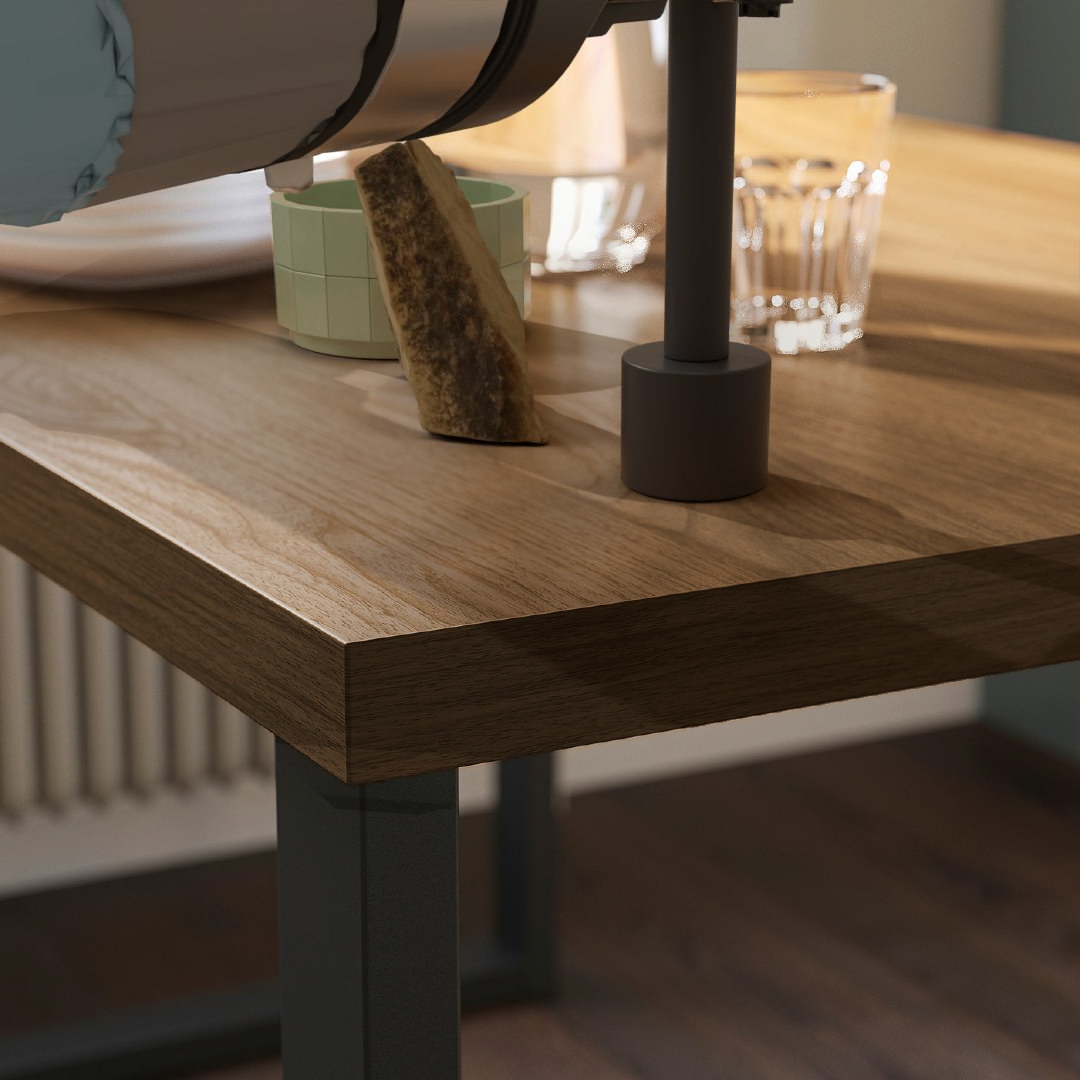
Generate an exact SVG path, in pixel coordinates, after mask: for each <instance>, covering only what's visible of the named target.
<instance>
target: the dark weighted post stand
mask: <svg viewBox="0 0 1080 1080" xmlns="http://www.w3.org/2000/svg"><path fill="white" fill-rule="evenodd" d="M738 13H739V3H737V2H714V1H713V0H668V29H667V30H668V31H667V32H668V33H667V35H668V36H667V38H668V39H667V97H666V98H667V101H666V104H667V105H666V113H667V114H666V161H665V163H666V165H665V168H666V170H665V173H666V174H665V175H666V176H665V232H664V234H665V237H664V239H665V243H664V297H663V298H664V303H663V304H664V306H663V310H664V311H663V340H658V341H652V342H646V343H642V344H638V345H635V346H633V347H630V348H628V349H626V350H624V352H623V353H622V355H621V358H620V366H621V367H620V480H621V482H622V483H623V485H625V487H626V488H628V489H630V490H632V491H634V492H636V493H639V494H642V495H645V496H650V497H653V498H657V499H658V498H659V499H664V500H671V501H680V502H681V501H682V502H712V501H723V500H730V499H731V500H732V499H736V498H740V497H745V496H747V495H748V496H749V495H751V494H754V493H756V492H758V491H760V490H761V489H762V488H763V487H765V485H766V484H767V481H768V473H769V445H770V444H769V443H770V414H771V390H772V389H771V388H772V387H771V386H772V385H771V384H772V360H773V359H772V356H771V354H770V353H769V352H768V351H766V350H764V349H762V348H760V347H757V346H754V345H751V344H747V343H741V342H736V341H731V340H730V335H731V334H730V332H731V331H730V329H731V294H732V260H733V259H732V258H733V256H732V255H733V225H734V224H733V223H734V222H733V221H734V219H733V218H734V189H735V188H734V184H735V183H734V182H735V151H736V150H735V147H736V146H735V145H736V111H737V76H738V75H737V74H738V72H737V71H738V40H739V39H738V37H739V17H738Z"/></svg>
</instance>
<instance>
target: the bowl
mask: <svg viewBox="0 0 1080 1080" xmlns="http://www.w3.org/2000/svg"><path fill="white" fill-rule="evenodd" d="M455 177H456V180H457V185H458V187H459V188H460V189H461V190H462V191H463V193H464V195H465V197H466V199H467V200H468V202H469V203H470V206H471V208H472V210H473V213H474V216H475V220H476V225H477V228H478V230H479V232H480V235H481V237H482V239H483V241H484V242H485V244H486V246H487V248H488V249H489V251H490V252H491V254H492V255H493V256H494V257H495V258H496V260H497V262H498V265H499V268H500V272H501V274H502V275H503V277H504V279H505V281H506V283H507V287H508V289H509V291H510V292H511V294H512V295H513V297H514V299H515V301H516V303H517V306H518V309H519V313H520V315H521V317H522V320H523V323H524V322H525V321H526V320H527V318H528V317H529V316H530V315H531V313H532V254H531V250H532V241H531V240H532V237H531V234H532V233H531V223H532V222H531V191H530V190H529V189H528V188H526V187H525V186H524V185H522V184H518V183H514V182H510V181H506V180H501V179H492V178H483V177H474V176H461V175H460V176H459V175H455ZM268 201H269V203H268V204H269V218H270V234H271V235H270V237H271V250H272V251H271V252H272V269H273V270H272V271H273V284H274V285H273V286H274V287H273V288H274V305H275V316H276V321H277V325H279V326H280V327H283V328H285V329H287V330H288V334H289V339H290V340H291V342H292V343H293V344H294V345H296V346H298V347H300V348H303V349H305V350H308V351H311V352H315V353H319V354H324V355H330V356H337V357H344V358H354V359H367V360H369V359H371V360H399V358H398V355H397V351H396V347H395V343H396V341H395V337H394V335H393V334H392V332H391V330H390V327H389V323H388V319H387V316H386V311H385V305H384V302H383V295H382V291H381V287H380V283H379V279H378V275H377V271H376V268H375V261H374V257H373V255H372V253H371V249H370V243H369V239H368V235H367V229H366V225H365V220H364V217H363V213H362V204H361V201H360V198H359V195H358V191H357V185H356V180H355V177H354V176H353V177H346V178H345V177H342V178H334V179H324V180H317V181H314V183H313V184H312V185H311V186H310V187H309V188H308V189H306V190H304V191H302V192H299V193H297V194H294V193H284V192H274V191H273V192H272V193H269V194H268Z"/></svg>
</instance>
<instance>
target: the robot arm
mask: <svg viewBox="0 0 1080 1080" xmlns="http://www.w3.org/2000/svg"><path fill="white" fill-rule="evenodd" d="M713 1H714V2H737V3H739V6H738V18H764V19H765V18H766V19H767V18H775V19H779V18H781V6H782V5H787V4H788V5H789V4H794V0H713ZM668 2H669V0H0V225H5V226H13V227H19V228H32V227H38V226H41V225H47V224H52V223H57V222H61V219H62V217H63V216H64V214H70V213H73V212H75V211H79V210H84V209H88V208H92V207H96V206H100V205H104V204H108V203H112V202H115V201H119V200H123V199H127V198H132V197H136V196H141V195H145V194H149V193H153V192H158V191H162V190H167V189H172V188H175V187H179V186H184V185H189V184H193V183H197V182H201V181H206V180H210V179H214V178H219V177H223V176H227V175H228V176H229V175H240V174H245V173H249V172H253V171H259V170H263V172H264V177H265V183H266V186H267V187H268V188H269V189H270V190H272V191H273V192H284V193H294V194H297V193H299V192H302V191H304V190H306V189H308V188H309V187H310V186H311V185H312V184H313V183H314V182H315V181H314V157H316V156H319V155H323V154H330V153H338V152H348V151H354V150H358V149H362V148H363V149H364V148H368V147H372V146H377V145H382V144H388V143H394V142H395V143H403V142H406V141H409V140H415V139H420V140H422V139H426V138H432V137H436V136H441V135H445V134H450V133H455V132H459V131H465V130H469V129H474V128H478V127H484V126H487V125H488V126H489V125H491V124H494V123H497V122H501V121H503V120H505V119H507V118H510V117H512V116H514V115H516V114H518V113H520V112H521V111H523V110H525V109H526V108H527V107H529V106H531V105H532V104H533V103H535V102H536V101H538V99H540V98H541V97H542V96H544V95H545V94H546V93H547V92H548V91H549V90H550V89H551V88H553V86H554V85H555V84H556V83H557V82H558V81H559V80H560V79H561V77H563V76H564V74H565V73H566V71H567V70H568V68H569V67H570V66H571V64H572V63H573V61H575V58H576V57H577V55H578V54H579V52H580V50H581V48H582V46H583V45H584V43H585V41H586V40H587V39H588V38H598V37H603V36H605V35H607V34H608V32H609V31H610V30H611V28H612V27H613V26H614V25H616V24H625V23H626V24H628V23H637V22H649V21H656V20H659V19H660V18H661V17H663V14H664V13H665V10H666V7H667V3H668Z"/></svg>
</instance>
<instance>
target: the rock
mask: <svg viewBox="0 0 1080 1080" xmlns="http://www.w3.org/2000/svg"><path fill="white" fill-rule="evenodd" d="M455 176H456V175H455V172H454V170H453V169H452V168H449V167H447V166H446V165H445V163H443V161H442V158H441V157H440V155H438V154H435V153H434V152H433V151H432V149H431V148H430V146H429V145H427V143H426V142H425V141H424V140H422V139H415V140H409V141H404V143H403V142H395V143H392V144H390V145H388V146H387V147H385V148H383V149H382V150H381V151H379V152H377V153H375V154H374V153H373V154H372V155H369V157H367V158H366V159H365V160H363V161H361V163H359V164H357V165H356V166H354V167H353V178H354V177H355V180H356V185H357V191H358V195H359V198H360V201H361V204H362V213H363V217H364V220H365V225H366V229H367V235H368V239H369V243H370V249H371V253H372V255H373V257H374V261H375V268H376V271H377V275H378V279H379V283H380V287H381V291H382V295H383V302H384V305H385V311H386V316H387V319H388V323H389V327H390V330H391V332H392V334H393V335H394V337H395V341H396V343H395V347H396V351H397V355H398V358H399V359H398V362H399V364H400V367H401V370H402V372H403V374H404V376H405V378H406V379H407V381H408V382H409V384H410V387H411V389H412V391H413V393H414V396H415V399H416V405H417V408H416V409H417V411H418V417H419V422H420V427H421V428H422V429H423V430H425V431H427V432H428V433H430V434H438V435H443V436H447V437H457V438H461V439H462V438H467V439H471V440H473V441H483V442H493V443H523V442H526V443H527V442H528V443H534V444H539V445H543V444H546V443H549V441H550V440H551V433H550V432H549V431H548V430H547V429H545V428H544V427H543V425H542V423H541V421H540V419H539V414H538V413H537V412H538V409H537V407H536V401H535V394H534V386H533V382H532V381H531V378H530V377H529V374H528V367H529V366H528V365H529V362H528V358H527V356H526V347H525V346H526V332H525V324H524V322H523V320H522V317H521V315H520V313H519V309H518V306H517V303H516V301H515V299H514V297H513V295H512V294H511V292H510V291H509V289H508V287H507V283H506V281H505V279H504V277H503V275H502V274H501V272H500V268H499V265H498V262H497V260H496V258H495V257H494V256H493V255H492V254H491V252H490V251H489V249H488V248H487V246H486V244H485V242H484V241H483V239H482V237H481V235H480V232H479V230H478V228H477V225H476V220H475V216H474V213H473V210H472V208H471V206H470V203H469V202H468V200H467V199H466V197H465V195H464V193H463V191H462V190H461V189H460V188H459V187H458V185H457V180H456V177H455Z"/></svg>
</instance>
